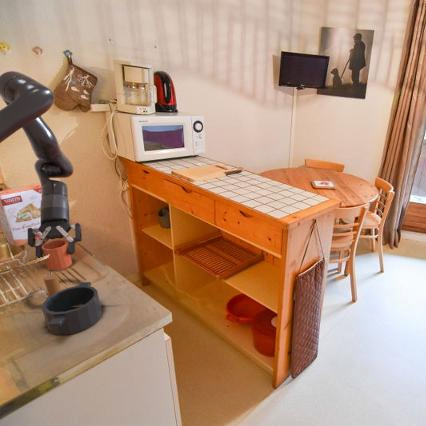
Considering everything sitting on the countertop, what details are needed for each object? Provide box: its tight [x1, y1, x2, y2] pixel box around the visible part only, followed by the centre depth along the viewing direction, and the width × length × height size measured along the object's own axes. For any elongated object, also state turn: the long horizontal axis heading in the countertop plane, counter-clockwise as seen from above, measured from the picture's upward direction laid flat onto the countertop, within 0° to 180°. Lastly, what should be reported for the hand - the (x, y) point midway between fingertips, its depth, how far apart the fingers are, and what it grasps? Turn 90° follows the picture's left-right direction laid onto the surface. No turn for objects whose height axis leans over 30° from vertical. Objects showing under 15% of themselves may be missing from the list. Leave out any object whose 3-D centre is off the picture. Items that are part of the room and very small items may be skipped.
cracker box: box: [0, 183, 42, 248], centre depth 117 cm, size 14×6×21 cm, turn 154°
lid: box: [43, 273, 62, 297], centre depth 92 cm, size 13×13×7 cm
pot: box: [41, 281, 103, 337], centre depth 85 cm, size 12×17×7 cm
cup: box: [42, 239, 73, 271], centre depth 105 cm, size 6×6×9 cm
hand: (56, 256), depth 103 cm, fingers open, 7 cm apart
